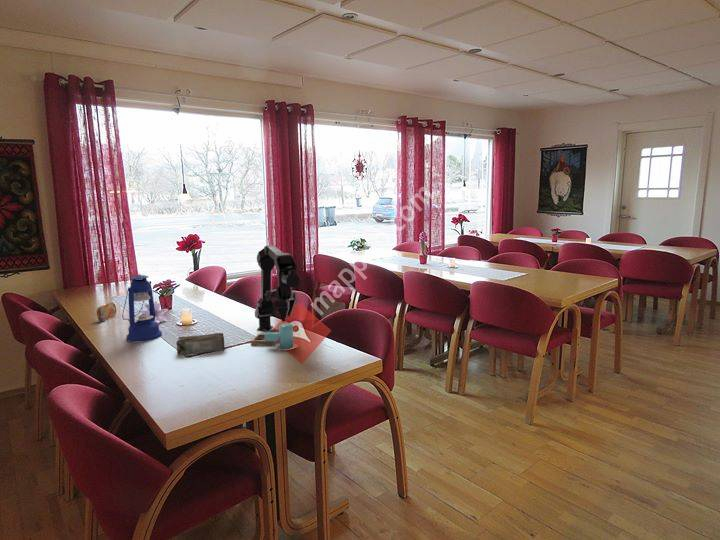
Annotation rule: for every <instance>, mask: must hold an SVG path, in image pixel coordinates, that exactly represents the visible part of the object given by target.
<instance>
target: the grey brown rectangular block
mask: <svg viewBox="0 0 720 540" xmlns="http://www.w3.org/2000/svg"><path fill="white" fill-rule="evenodd" d="M224 350H225V337H224V333H223V332H215V333H208V334H201V335H188V336H179V337H177V340H176V352H177V355H178V356H179V355H191V353H193V354H201V353H202V352H203V353H209V352H210V353H211V352H220V351H224Z"/></svg>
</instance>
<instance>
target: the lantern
mask: <svg viewBox="0 0 720 540" xmlns="http://www.w3.org/2000/svg"><path fill="white" fill-rule="evenodd" d="M148 278H149V276H148V275H146V274H145V275H144V274H137V275H134V276H131V277H129V279H130V280H131V282H130V287H128V288H127V290H126V291H127V292H126V297H125V301H124V307H123V310H122V320H123V321H125V320H128V322H129V326H128V333H127V335H126V340H127V341H128V340H129V341H128V342H132V341H142V342H147V341H148V340H149V341H153V340H155V339H159V338H161V337H162V336H161V335H162V331H161V330H160V326H159V323H158V322H156V321H155V322H154V320H155V308H154V302H155V301H154V294H153V289H152V281H149V280H148ZM127 298H128V317H129V318H124V311H125V307H126V304H127ZM145 301H148V305H149V307H150V308H149V311H150V315H145V314H142V313H141V314H140V311H142V310H143V309H144V308H146V306H145V305H144V304H145ZM135 302H139V304H140V305H141V308H140V309H139V310H137V311H136V314H135ZM140 302H142V303H140ZM148 305H147V306H148ZM143 306H144V307H143ZM139 314H140V315H139ZM160 336H161V337H160Z"/></svg>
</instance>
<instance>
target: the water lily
mask: <svg viewBox="0 0 720 540" xmlns="http://www.w3.org/2000/svg"><path fill="white" fill-rule="evenodd" d="M147 305H148V306H147ZM145 306H146V307H145ZM144 307H145V309H147V310H145V309H144V310H143V309H142V310H141V311H140V310H139V311H140V313H141V314H145V315H150V311H149V308H150V307H149V303H145V302H144ZM154 308H155V320H154V322H157V323H158V324H159V323H160V320H161V321H164V322H170V320H169V318H167V317H165V316H164V315H163V314H165V313H166V312H168V311H169V308H163V309H160V308H161V303H160V302H159V303H158V302H157V301H154ZM140 313H139V314H140Z"/></svg>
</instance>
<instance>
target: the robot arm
mask: <svg viewBox="0 0 720 540" xmlns="http://www.w3.org/2000/svg"><path fill="white" fill-rule="evenodd" d="M256 262H257V265H258V267H260V270H261V271H260V273H261V274H260V297H259V299H258V300H257V303H256V307H255V310H254V317H255V318H256V319H258V328H256V330H257V331H270V330H272V328H274V326H273V325H271V324H272V323H271V322H272V321H271V317H275V314H276V313H275V311H276V310H277V311H278V313H279V317H280V318H281V321H282V322H283V323H285V322H286V321H287V320H286V319H287V316H288V317H290V316H291V315H292V312H293V309H294V306H295V303H296V301H297V299H298V293H297V292H296V291H293V288H296V287H297V286H299V284H300V280H301V279H300V277H299V275H298V274H296V271H297V263H296V261H295V258H294V257H293V255H292V254H291V253H289V252H287V253H286V252H283V251H281V250H280V249H279V248H278V247H277V246H276V245H275V244H269V245H264V247H263V248H262V249H261V250H259V251H258V253H257V254H256ZM274 267H275V268H274ZM273 269H276V272H277V286H276V289H272V288H271V287H272V285H271V284H272V270H273ZM271 289H272V290H271ZM275 298H276V299H275ZM273 299H275V300H274V301H273Z"/></svg>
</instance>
